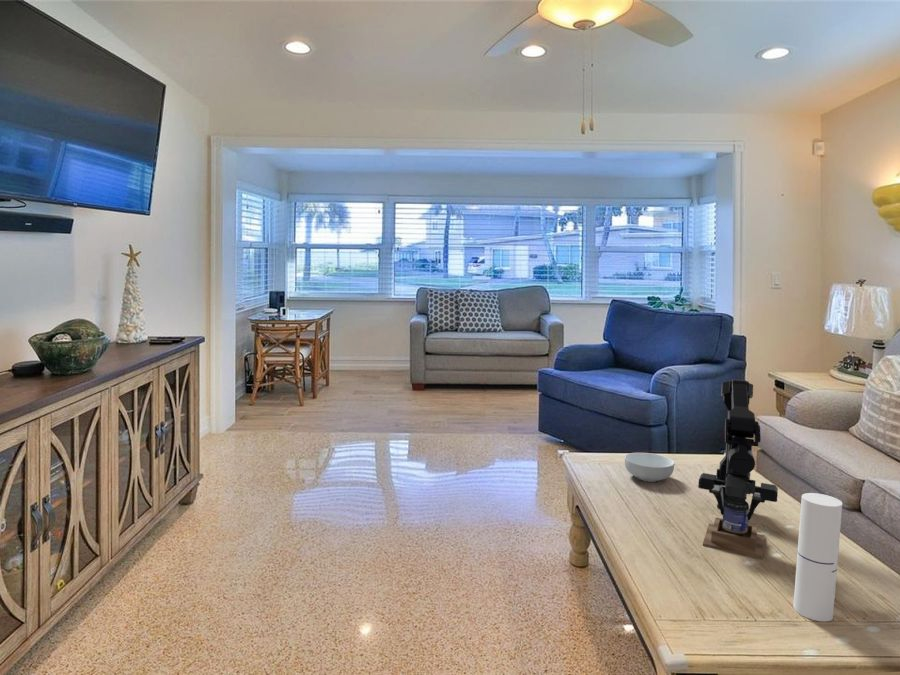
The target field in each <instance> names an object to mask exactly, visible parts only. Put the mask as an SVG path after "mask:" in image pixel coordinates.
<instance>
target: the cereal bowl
mask: <svg viewBox="0 0 900 675" xmlns="http://www.w3.org/2000/svg"><path fill="white" fill-rule="evenodd" d="M624 466H625V468H626V470H627V472H628V473H630V474H631V475H632V476H634V477H636V478H637V479H638V480H640V479H641V481H642V480H643V481H644V482H647V481H648V483H656V481H657V482H659V481H662V480H666V479H668V478H670V477H671V475H673V473H674V470H675V461H674V460H673V459H672V458H670V457H667V456H664V455H662V454H658V453H650V452H630V453H628V454H626V455H625V456H624Z"/></svg>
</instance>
